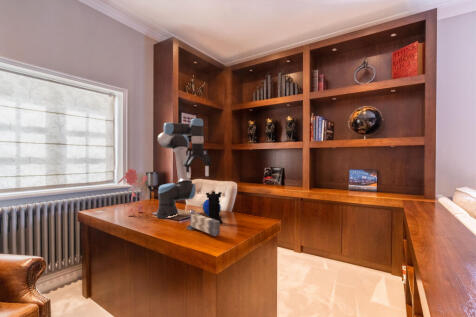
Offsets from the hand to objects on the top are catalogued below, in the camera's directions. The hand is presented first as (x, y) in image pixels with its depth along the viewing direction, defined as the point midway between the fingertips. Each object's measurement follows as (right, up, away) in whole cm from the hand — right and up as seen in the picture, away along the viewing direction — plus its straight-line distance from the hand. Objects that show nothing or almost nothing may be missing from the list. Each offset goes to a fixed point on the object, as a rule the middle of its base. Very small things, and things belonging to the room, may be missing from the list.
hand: (198, 176), depth 147 cm
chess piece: (+10, -31, +4) cm, 32 cm away
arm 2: (+7, -29, -15) cm, 34 cm away
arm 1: (+6, -29, -16) cm, 34 cm away
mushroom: (+6, -30, +21) cm, 37 cm away
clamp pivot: (-2, -31, -6) cm, 32 cm away
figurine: (-56, -31, +31) cm, 71 cm away
